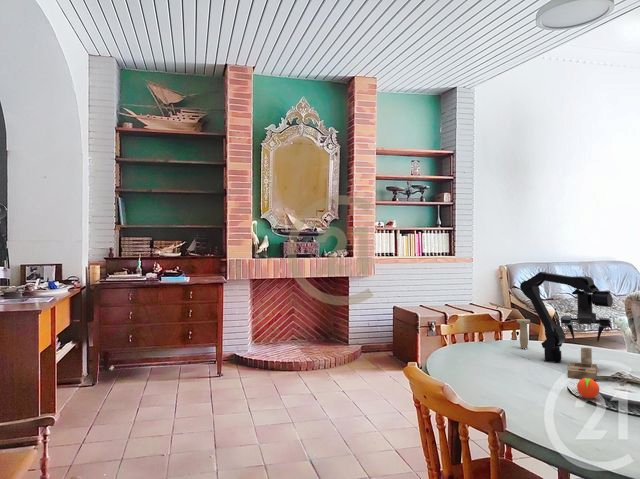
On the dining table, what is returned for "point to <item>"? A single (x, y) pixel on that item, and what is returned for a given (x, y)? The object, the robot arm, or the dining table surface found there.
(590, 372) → the socket block
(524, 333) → the handle
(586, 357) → the peg
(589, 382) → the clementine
